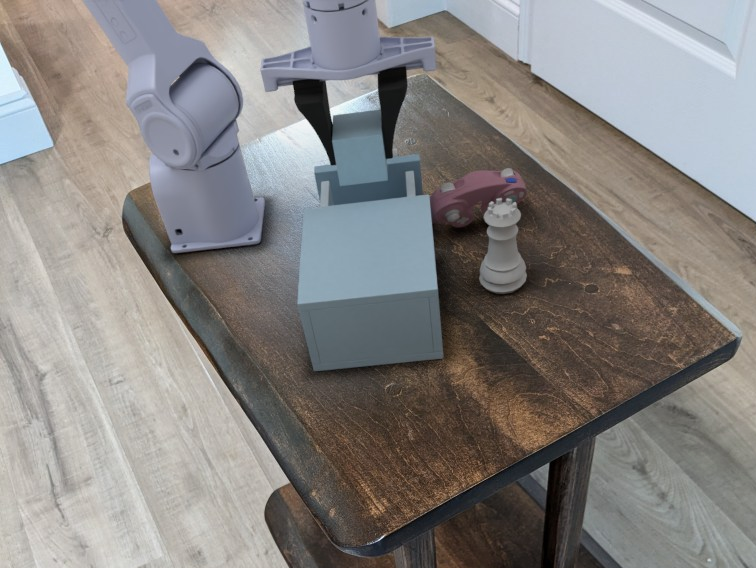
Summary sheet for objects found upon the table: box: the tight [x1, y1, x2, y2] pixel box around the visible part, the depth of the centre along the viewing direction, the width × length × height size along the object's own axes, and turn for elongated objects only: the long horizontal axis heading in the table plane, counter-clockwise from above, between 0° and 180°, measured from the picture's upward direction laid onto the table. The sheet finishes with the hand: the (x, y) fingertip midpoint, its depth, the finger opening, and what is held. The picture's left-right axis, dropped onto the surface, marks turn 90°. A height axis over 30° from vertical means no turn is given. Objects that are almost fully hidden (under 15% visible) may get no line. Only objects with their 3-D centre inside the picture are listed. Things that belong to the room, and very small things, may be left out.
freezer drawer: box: [313, 148, 424, 207], centre depth 84 cm, size 17×10×6 cm, turn 1°
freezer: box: [296, 193, 444, 372], centre depth 77 cm, size 14×12×8 cm
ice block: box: [332, 108, 388, 186], centre depth 78 cm, size 4×4×4 cm
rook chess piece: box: [478, 198, 528, 295], centre depth 78 cm, size 4×4×8 cm
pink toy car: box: [429, 167, 528, 228], centre depth 85 cm, size 10×5×7 cm, turn 104°
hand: (362, 156), depth 78 cm, fingers closed on ice block, 4 cm apart
